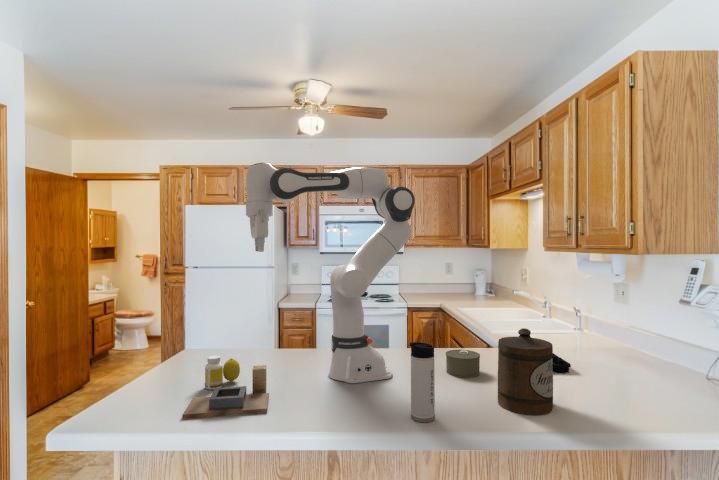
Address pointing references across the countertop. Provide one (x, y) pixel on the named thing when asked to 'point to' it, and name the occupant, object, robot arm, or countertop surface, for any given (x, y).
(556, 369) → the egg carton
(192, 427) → the countertop surface
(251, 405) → the dock board
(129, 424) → the countertop surface
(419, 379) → the travel mug
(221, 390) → the collar
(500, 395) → the wooden container
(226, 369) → the lemon
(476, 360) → the can
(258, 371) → the square bar
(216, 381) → the supplement bottle
